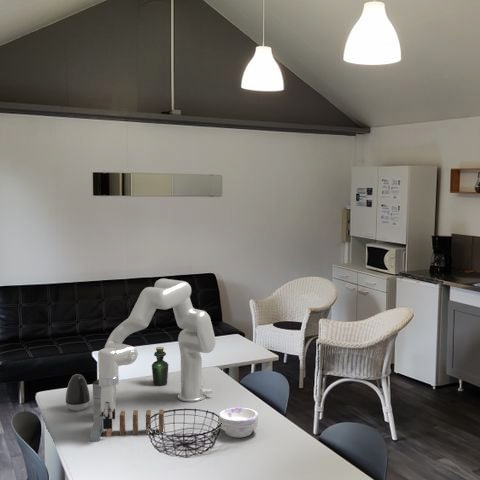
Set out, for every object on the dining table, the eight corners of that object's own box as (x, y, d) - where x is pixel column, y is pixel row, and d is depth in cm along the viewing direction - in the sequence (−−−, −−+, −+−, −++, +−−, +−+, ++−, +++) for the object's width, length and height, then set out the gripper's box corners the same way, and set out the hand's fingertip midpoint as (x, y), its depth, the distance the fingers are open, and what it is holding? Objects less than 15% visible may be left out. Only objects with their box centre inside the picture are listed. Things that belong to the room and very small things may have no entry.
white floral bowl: (238, 422, 247) (238, 403, 246) (266, 433, 236) (266, 413, 235) (210, 433, 236) (210, 413, 235) (238, 444, 225) (238, 424, 224)
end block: (104, 426, 242) (103, 416, 242) (98, 441, 228) (98, 430, 228) (96, 426, 242) (96, 417, 242) (90, 441, 228) (90, 431, 228)
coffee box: (102, 412, 257) (101, 375, 256) (116, 413, 256) (116, 376, 254) (93, 420, 248) (92, 382, 247) (107, 422, 247) (107, 383, 246)
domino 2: (125, 430, 238) (125, 410, 238) (124, 435, 234) (123, 415, 233) (121, 430, 238) (120, 410, 238) (119, 435, 233) (119, 415, 233)
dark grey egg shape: (72, 415, 255) (71, 379, 253) (61, 408, 262) (60, 374, 261) (94, 409, 261) (93, 374, 260) (83, 402, 269) (82, 369, 268)
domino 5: (163, 429, 240) (163, 409, 239) (163, 434, 235) (162, 414, 234) (159, 429, 240) (159, 409, 239) (159, 434, 235) (158, 414, 234)
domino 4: (150, 429, 239) (150, 409, 239) (150, 434, 234) (149, 414, 234) (146, 429, 239) (146, 409, 238) (146, 434, 234) (145, 414, 234)
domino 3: (138, 429, 239) (137, 410, 238) (137, 435, 234) (136, 414, 233) (134, 430, 239) (133, 410, 238) (132, 435, 234) (132, 415, 233)
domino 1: (112, 430, 238) (112, 410, 237) (110, 435, 233) (110, 415, 232) (108, 430, 238) (107, 411, 237) (106, 436, 233) (106, 415, 232)
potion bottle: (161, 388, 289) (160, 351, 287) (148, 385, 293) (147, 348, 292) (172, 383, 296) (171, 347, 294) (159, 380, 300) (159, 345, 299)
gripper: (101, 374, 242) (102, 415, 243) (95, 388, 225) (96, 432, 226) (120, 373, 243) (121, 415, 244) (115, 387, 225) (116, 432, 227)
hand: (109, 423), depth 235 cm, fingers open, 9 cm apart
